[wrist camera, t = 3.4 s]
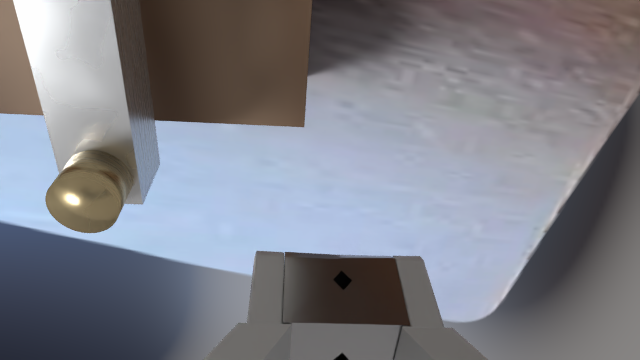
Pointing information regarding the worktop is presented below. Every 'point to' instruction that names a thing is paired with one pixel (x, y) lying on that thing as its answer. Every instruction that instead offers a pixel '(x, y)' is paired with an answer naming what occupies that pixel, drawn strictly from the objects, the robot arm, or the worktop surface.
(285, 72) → the jamb block
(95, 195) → the lock bar
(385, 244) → the worktop surface
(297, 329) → the robot arm
